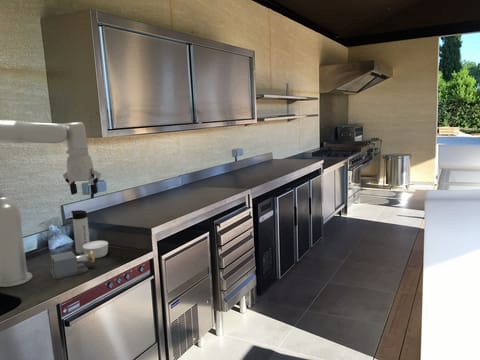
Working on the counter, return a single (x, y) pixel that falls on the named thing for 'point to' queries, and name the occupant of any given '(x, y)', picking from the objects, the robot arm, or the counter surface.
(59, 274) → the bearing housing
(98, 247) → the ramekin
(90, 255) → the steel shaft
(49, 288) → the counter surface
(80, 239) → the travel mug
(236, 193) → the counter surface
